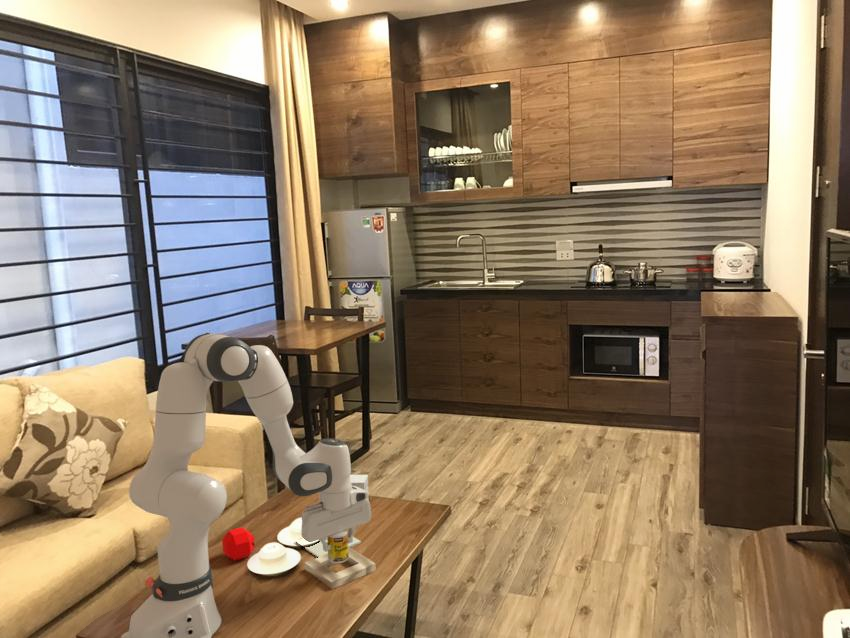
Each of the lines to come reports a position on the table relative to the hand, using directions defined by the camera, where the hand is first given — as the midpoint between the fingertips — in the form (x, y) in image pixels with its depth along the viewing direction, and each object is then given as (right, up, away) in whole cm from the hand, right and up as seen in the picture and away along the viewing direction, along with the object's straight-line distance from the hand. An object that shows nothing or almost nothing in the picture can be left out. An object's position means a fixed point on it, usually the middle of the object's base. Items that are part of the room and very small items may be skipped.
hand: (338, 546), depth 186 cm
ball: (-30, -7, +12) cm, 33 cm away
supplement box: (+1, -2, +36) cm, 36 cm away
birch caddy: (0, -7, +2) cm, 7 cm away
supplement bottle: (0, -4, +1) cm, 4 cm away
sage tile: (-5, -5, +18) cm, 19 cm away
